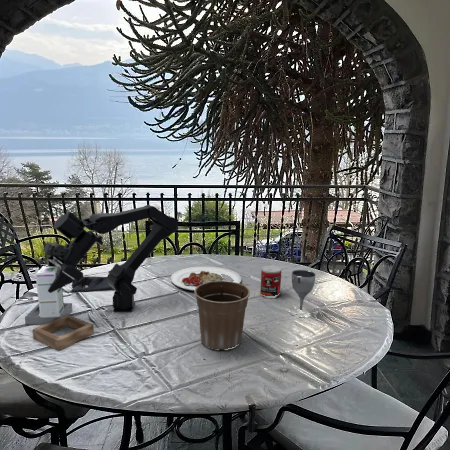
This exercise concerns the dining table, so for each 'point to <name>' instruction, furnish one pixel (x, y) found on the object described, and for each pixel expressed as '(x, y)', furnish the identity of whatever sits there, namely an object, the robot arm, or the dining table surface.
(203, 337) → the plant pot
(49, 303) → the syrup box
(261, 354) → the dining table surface
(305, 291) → the grey funnel
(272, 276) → the canned food
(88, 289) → the dark slate chunk
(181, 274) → the plated food
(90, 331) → the brown wooden square frame
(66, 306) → the holder
